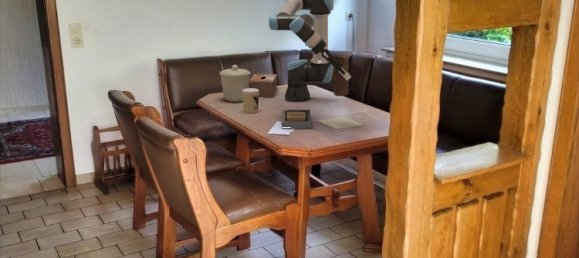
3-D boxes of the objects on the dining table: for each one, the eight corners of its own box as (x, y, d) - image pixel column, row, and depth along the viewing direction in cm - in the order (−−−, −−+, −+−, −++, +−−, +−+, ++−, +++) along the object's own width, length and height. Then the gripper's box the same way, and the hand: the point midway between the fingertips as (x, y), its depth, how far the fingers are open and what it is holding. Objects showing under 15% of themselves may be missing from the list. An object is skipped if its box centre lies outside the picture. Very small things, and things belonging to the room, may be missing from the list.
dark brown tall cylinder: (332, 93, 280) (333, 53, 275) (346, 93, 281) (347, 53, 275) (334, 96, 273) (335, 56, 267) (349, 96, 274) (350, 55, 268)
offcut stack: (287, 124, 281) (287, 111, 279) (305, 124, 281) (305, 112, 279) (287, 126, 277) (287, 114, 275) (305, 126, 277) (305, 114, 275)
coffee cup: (257, 113, 301) (256, 92, 297) (240, 113, 302) (239, 91, 299) (261, 109, 309) (261, 88, 306) (245, 109, 311) (244, 87, 308)
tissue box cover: (272, 98, 338) (272, 82, 335) (249, 98, 339) (248, 81, 336) (276, 89, 362) (276, 74, 360) (254, 89, 363) (254, 73, 361)
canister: (239, 95, 344) (238, 61, 339) (257, 100, 331) (256, 65, 325) (214, 99, 333) (213, 64, 327) (232, 105, 320) (231, 68, 314)
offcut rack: (282, 116, 296) (282, 109, 295) (309, 116, 296) (310, 109, 295) (281, 128, 273) (281, 121, 272) (311, 128, 273) (311, 121, 272)
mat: (344, 118, 292) (344, 117, 292) (362, 125, 279) (362, 124, 279) (318, 122, 284) (318, 121, 284) (336, 129, 271) (336, 128, 271)
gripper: (309, 46, 281) (341, 78, 285) (310, 52, 261) (344, 86, 266) (320, 35, 279) (352, 68, 283) (322, 40, 260) (356, 75, 264)
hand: (348, 77), depth 275 cm, fingers closed on dark brown tall cylinder, 7 cm apart
